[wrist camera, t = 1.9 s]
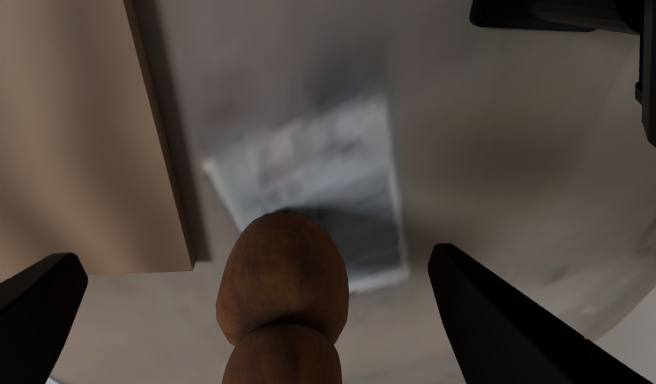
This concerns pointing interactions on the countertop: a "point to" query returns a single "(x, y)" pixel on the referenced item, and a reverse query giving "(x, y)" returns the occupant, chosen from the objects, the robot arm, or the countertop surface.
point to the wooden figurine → (283, 303)
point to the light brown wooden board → (84, 143)
